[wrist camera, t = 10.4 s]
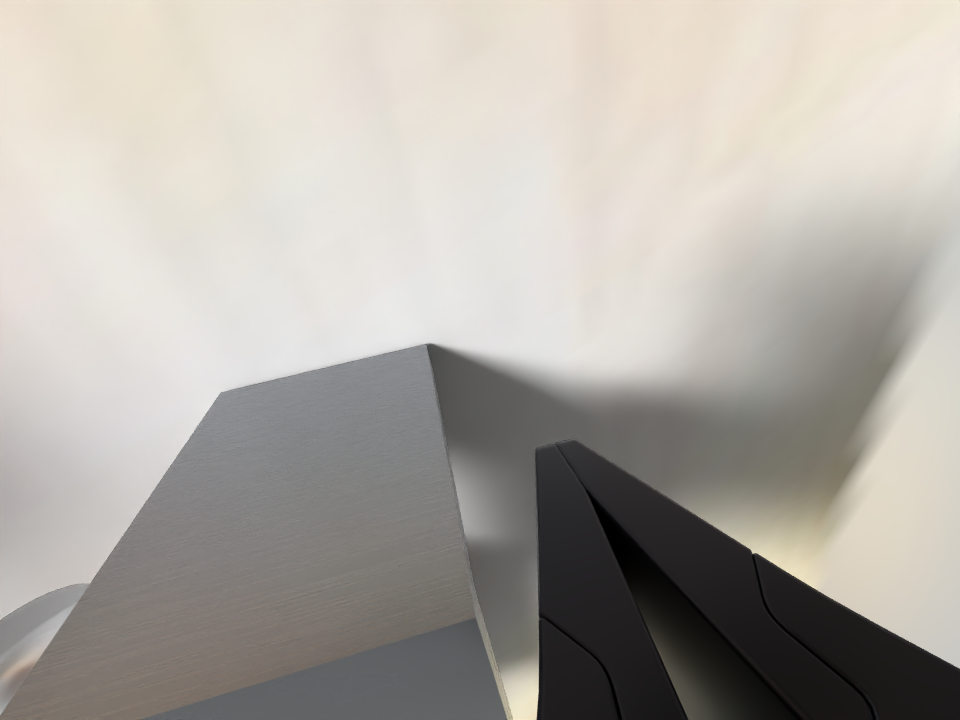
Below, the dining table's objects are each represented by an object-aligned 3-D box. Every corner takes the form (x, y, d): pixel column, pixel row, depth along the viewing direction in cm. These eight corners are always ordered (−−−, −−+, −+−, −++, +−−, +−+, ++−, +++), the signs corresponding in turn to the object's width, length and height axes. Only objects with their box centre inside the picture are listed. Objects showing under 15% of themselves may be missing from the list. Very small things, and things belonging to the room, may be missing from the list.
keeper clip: (426, 344, 10) (476, 617, 4) (465, 495, 13) (528, 787, 7) (220, 392, 10) (-39, 773, 4) (307, 539, 12) (232, 890, 6)
